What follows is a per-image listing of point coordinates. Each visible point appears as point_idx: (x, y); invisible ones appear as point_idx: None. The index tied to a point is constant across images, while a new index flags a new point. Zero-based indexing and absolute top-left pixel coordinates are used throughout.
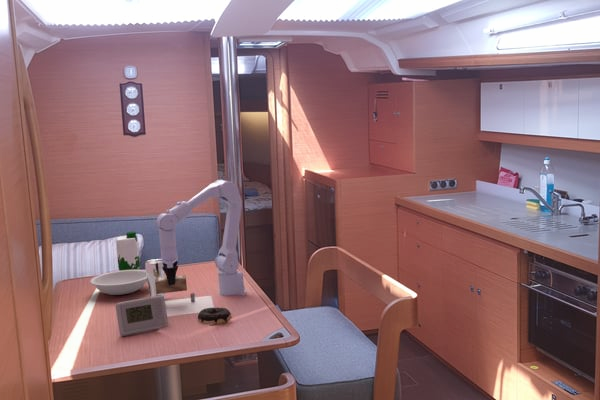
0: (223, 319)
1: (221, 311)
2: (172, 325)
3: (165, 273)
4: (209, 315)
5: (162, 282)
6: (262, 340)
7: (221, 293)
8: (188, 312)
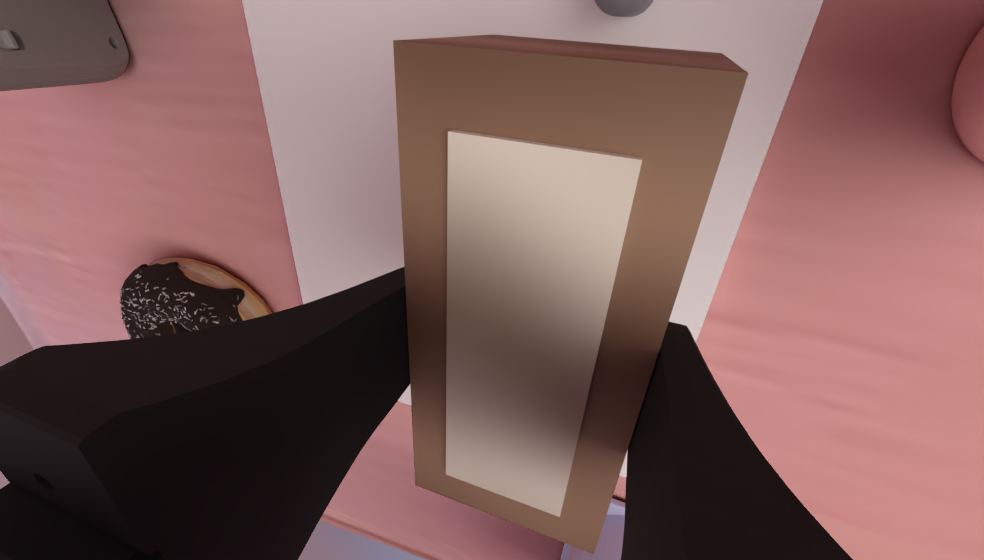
0: None
1: None
2: (168, 109)
3: (196, 332)
4: (123, 313)
5: (412, 190)
6: None
7: (610, 530)
8: (319, 251)
